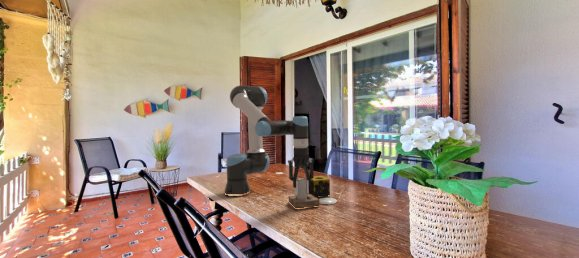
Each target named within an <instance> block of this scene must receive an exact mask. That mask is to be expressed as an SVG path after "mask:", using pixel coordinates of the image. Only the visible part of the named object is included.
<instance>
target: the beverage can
mask: <svg viewBox="0 0 579 258" xmlns="http://www.w3.org/2000/svg"><path fill="white" fill-rule="evenodd" d="M296 181H298V195H297V199H298V200H307V188H306V177H305V178H304V177H299V178H298V177H297V180H296Z"/></svg>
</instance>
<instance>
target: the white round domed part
mask: <svg viewBox="0 0 579 258" xmlns="http://www.w3.org/2000/svg"><path fill="white" fill-rule="evenodd" d="M318 199H319V203H322V204H334V203H336V202H337V203H338V200H337V199H336V198H334V197H333V198H332V197H321V198H318ZM337 203H336V204H337ZM322 204H321V205H322ZM334 205H335V204H334Z"/></svg>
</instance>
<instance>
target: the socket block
mask: <svg viewBox="0 0 579 258" xmlns="http://www.w3.org/2000/svg"><path fill="white" fill-rule="evenodd" d="M319 199H320V198H316V197H314V196H313V195H311V194H307V200H298V199H297V195H296V194H295V195H288V203H289V202H290V203H291V204H292V205H293V206H294V207H295V208H304V207H314V206H319V207H320V204H319ZM294 207H293V208H294ZM295 208H294V209H295Z"/></svg>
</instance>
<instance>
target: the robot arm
mask: <svg viewBox="0 0 579 258" xmlns="http://www.w3.org/2000/svg"><path fill="white" fill-rule="evenodd" d="M229 100H230V102H231V103H230V104H232V105H233V106H234V107H235V108H237V109H239V110H240V111H241V112H242V113H243V114H244V115H245V116H246V118H247V128H248V129H247V130H248V149H247V151H246V153H235V154H231V155H229V156H228V157H227V158H226V163H225V165H226V184H225V188H224V191H223V192H225V193H226V194H244V193H247V192H249V191H250V192H251V187H250V185H249V181H248V175H253V174H261V173H264V172H266V171H267V170H268V169H269V167H270V161H271V159H270V157H269V154H268V153H266V150H265V149H264V148H263V147H264V145H263V144H264V143H263V142H264V139H263V137H265V138H266V137H271V136H272V137H275V136H292V142H293V144H292V145H293V157H292V159H288V160H287V164H288V179H289V180H290V181H292V187H293V188H294V193H295V196H296V195H298V181H297V179H298V175H299V169H300V167H303V170H304V174H305V179H306V188H307V194H308V193H309V187H308V186H310V180H311V179H313V178H314V176H315V175H314V162H315V159H314V158H311V157H310V156H309V122H308V120H309V119H308V117H307V116H304V115H300V116H293V117H292V120H288V119H287V120H286V119H285V120H271V119H269V117H268V116H267V115H266V114H264V113H263V109H264V107H265V105H266V104H267V101H268V93H267V91H266V89H265V88H264V87H261V86H257V85H242V84H241V85H240V84H239V85H237V86H235V87H233V88H232V89H231V91H230V94H229ZM308 163H309V165H308ZM293 164H295V165H293ZM294 166H295V167H294ZM308 167H309V169H308ZM293 169H294V170H293ZM225 193H224V194H225Z"/></svg>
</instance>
